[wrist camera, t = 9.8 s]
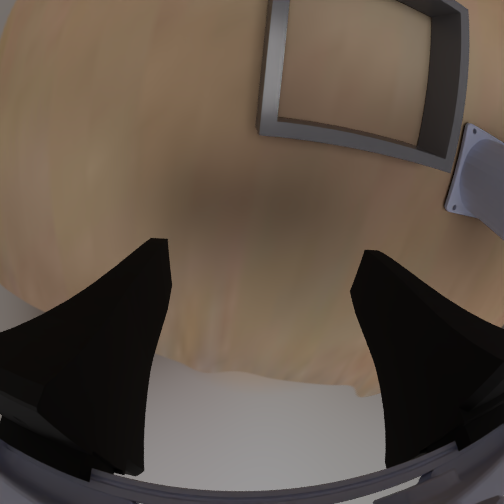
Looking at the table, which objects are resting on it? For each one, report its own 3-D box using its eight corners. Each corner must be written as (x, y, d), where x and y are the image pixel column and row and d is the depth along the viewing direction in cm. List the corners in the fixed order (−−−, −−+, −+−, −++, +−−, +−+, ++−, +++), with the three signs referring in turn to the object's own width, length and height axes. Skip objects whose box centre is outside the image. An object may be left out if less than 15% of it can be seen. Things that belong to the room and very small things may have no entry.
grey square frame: (439, 14, 10) (468, 9, 7) (422, 158, 17) (450, 173, 14) (272, -42, 9) (279, -66, 6) (255, 127, 16) (259, 135, 13)
